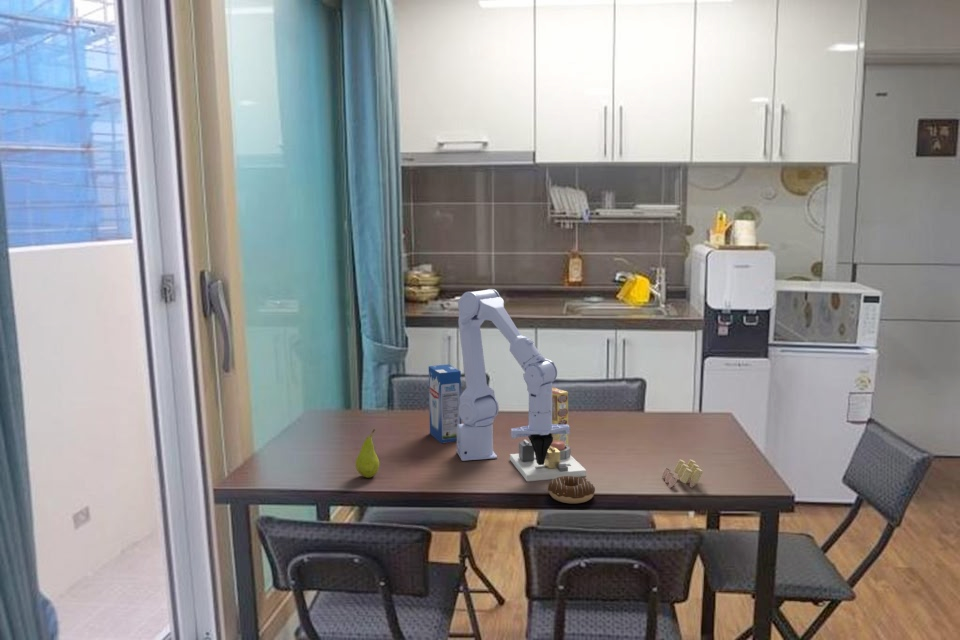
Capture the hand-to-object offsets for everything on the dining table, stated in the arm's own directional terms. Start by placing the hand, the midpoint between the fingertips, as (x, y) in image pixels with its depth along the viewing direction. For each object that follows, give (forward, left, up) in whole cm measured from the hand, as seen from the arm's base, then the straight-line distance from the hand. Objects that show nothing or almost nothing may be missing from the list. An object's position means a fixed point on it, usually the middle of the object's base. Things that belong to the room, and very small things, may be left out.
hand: (540, 463), depth 187 cm
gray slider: (-2, +7, -1) cm, 7 cm away
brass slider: (+3, 0, -1) cm, 3 cm away
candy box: (+10, +22, -3) cm, 24 cm away
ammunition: (+31, -14, -3) cm, 34 cm away
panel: (+3, +4, -2) cm, 5 cm away
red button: (+7, +7, 0) cm, 10 cm away
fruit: (-42, +8, -3) cm, 43 cm away
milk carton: (-18, +35, -3) cm, 39 cm away
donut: (+2, -16, -3) cm, 16 cm away
